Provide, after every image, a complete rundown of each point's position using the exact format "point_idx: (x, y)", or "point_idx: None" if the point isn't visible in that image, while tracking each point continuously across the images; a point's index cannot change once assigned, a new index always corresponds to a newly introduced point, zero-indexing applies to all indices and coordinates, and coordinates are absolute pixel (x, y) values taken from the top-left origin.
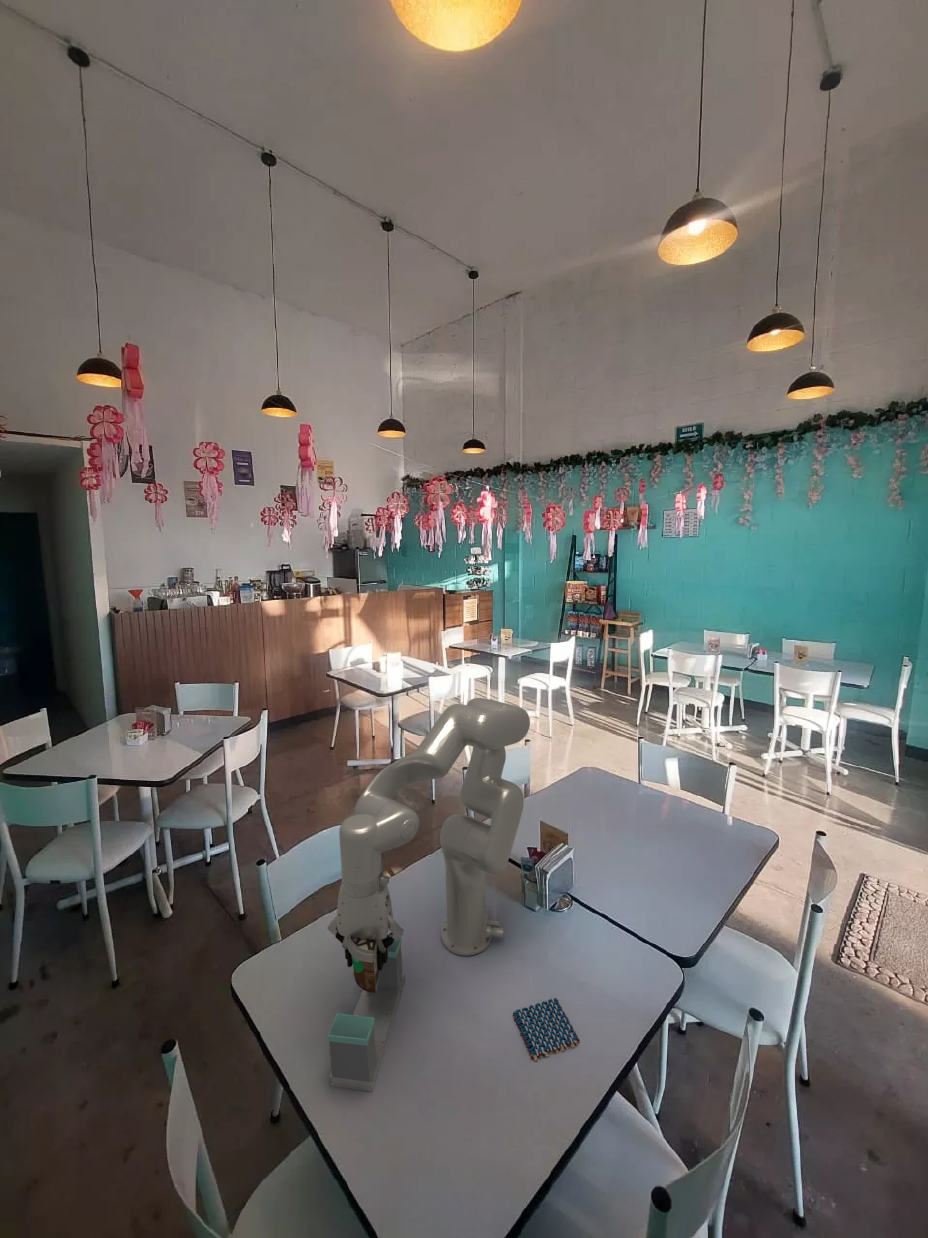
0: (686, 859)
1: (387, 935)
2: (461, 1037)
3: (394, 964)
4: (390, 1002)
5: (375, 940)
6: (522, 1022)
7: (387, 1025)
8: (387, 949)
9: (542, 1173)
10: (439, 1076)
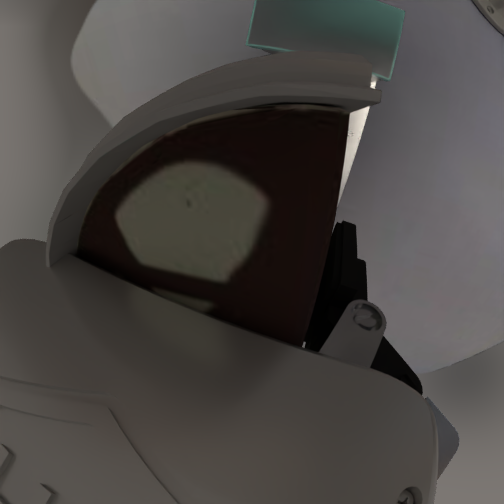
0: None
1: (374, 355)
2: (474, 212)
3: (373, 77)
4: (352, 116)
5: None
6: None
7: (345, 173)
8: (366, 289)
9: (467, 355)
10: (421, 262)
